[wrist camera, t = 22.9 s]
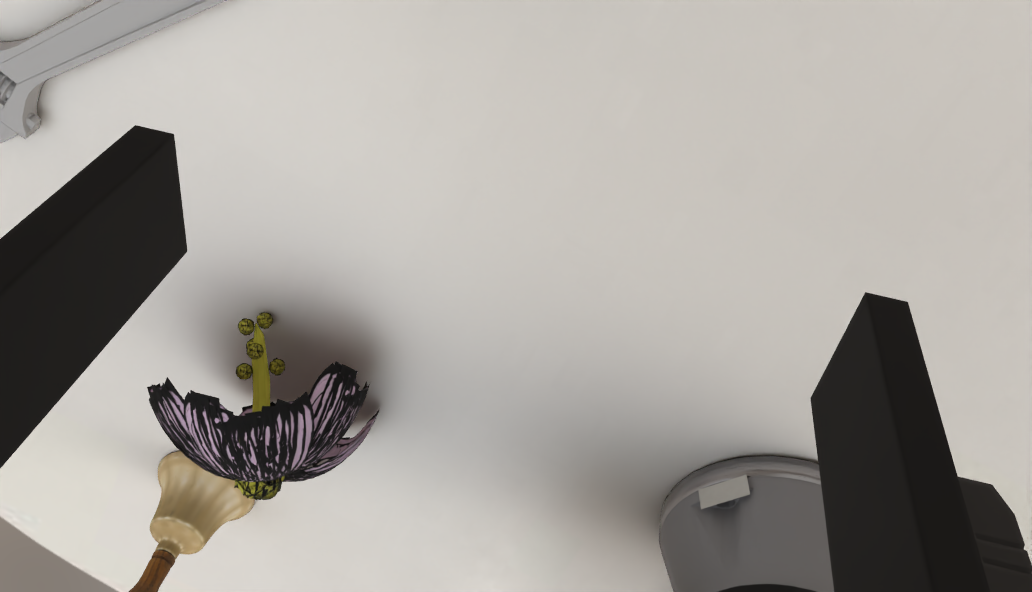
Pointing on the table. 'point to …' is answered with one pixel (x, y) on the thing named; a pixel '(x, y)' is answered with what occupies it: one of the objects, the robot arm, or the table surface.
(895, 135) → the table surface
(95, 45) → the adjustable wrench
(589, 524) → the table surface
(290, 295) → the table surface
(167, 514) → the hand bell
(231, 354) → the table surface
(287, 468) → the decorative flower
